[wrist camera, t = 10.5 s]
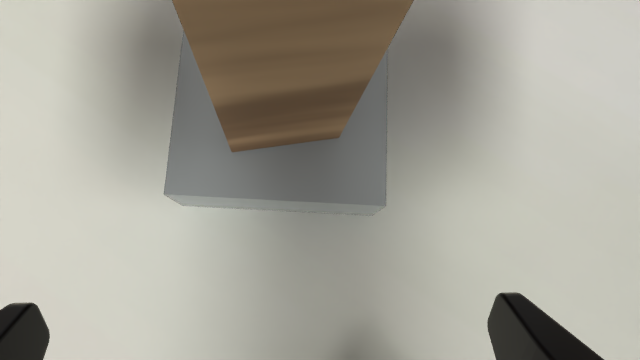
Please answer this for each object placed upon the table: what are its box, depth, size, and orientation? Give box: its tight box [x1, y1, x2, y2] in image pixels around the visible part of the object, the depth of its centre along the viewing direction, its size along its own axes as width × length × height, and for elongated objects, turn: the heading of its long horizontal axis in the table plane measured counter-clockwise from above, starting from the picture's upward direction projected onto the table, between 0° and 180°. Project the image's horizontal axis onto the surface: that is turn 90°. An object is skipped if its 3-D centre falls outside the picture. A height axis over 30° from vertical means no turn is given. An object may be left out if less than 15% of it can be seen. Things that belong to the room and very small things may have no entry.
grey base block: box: [164, 30, 388, 215], centre depth 20 cm, size 9×9×4 cm
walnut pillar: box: [172, 0, 413, 152], centre depth 12 cm, size 4×4×12 cm
